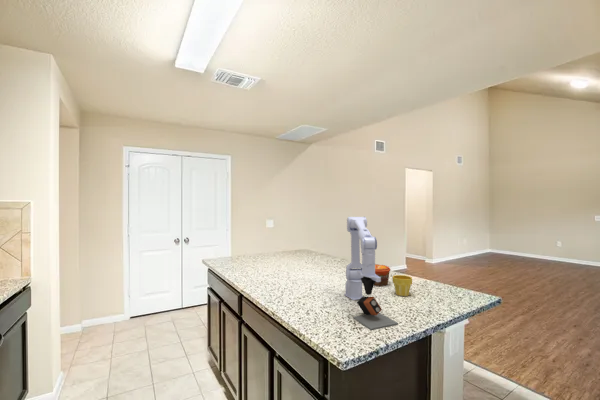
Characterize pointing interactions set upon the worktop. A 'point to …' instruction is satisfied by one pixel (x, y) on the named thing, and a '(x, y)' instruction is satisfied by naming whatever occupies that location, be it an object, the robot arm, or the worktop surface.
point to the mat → (375, 321)
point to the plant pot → (402, 284)
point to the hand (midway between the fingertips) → (368, 294)
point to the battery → (369, 305)
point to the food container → (382, 274)
